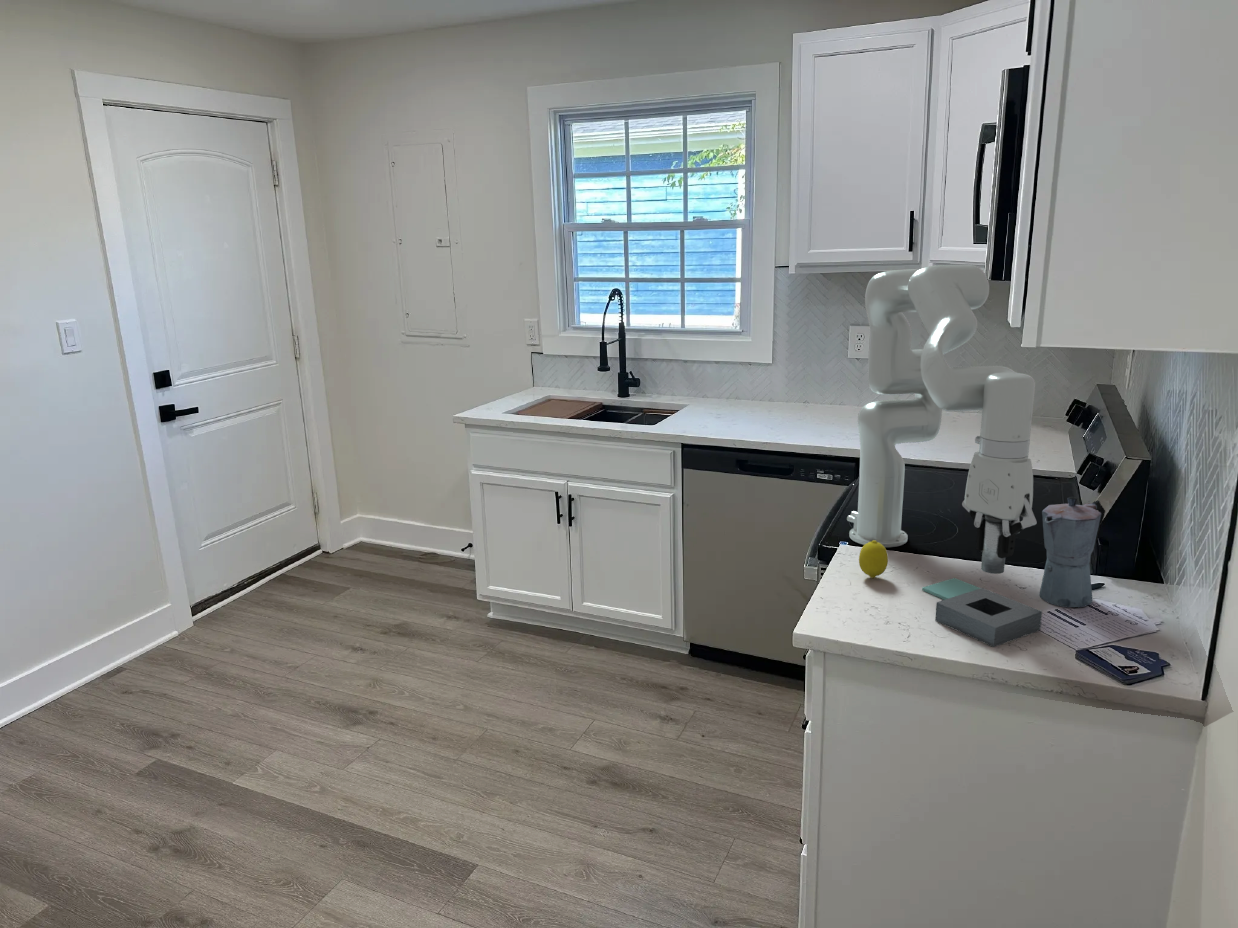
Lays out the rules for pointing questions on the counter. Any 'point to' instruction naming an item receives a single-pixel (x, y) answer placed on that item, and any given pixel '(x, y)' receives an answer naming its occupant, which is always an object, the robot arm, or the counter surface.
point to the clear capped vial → (992, 546)
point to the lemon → (873, 559)
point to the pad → (949, 588)
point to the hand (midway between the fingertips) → (994, 551)
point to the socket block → (988, 616)
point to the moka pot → (1069, 552)
